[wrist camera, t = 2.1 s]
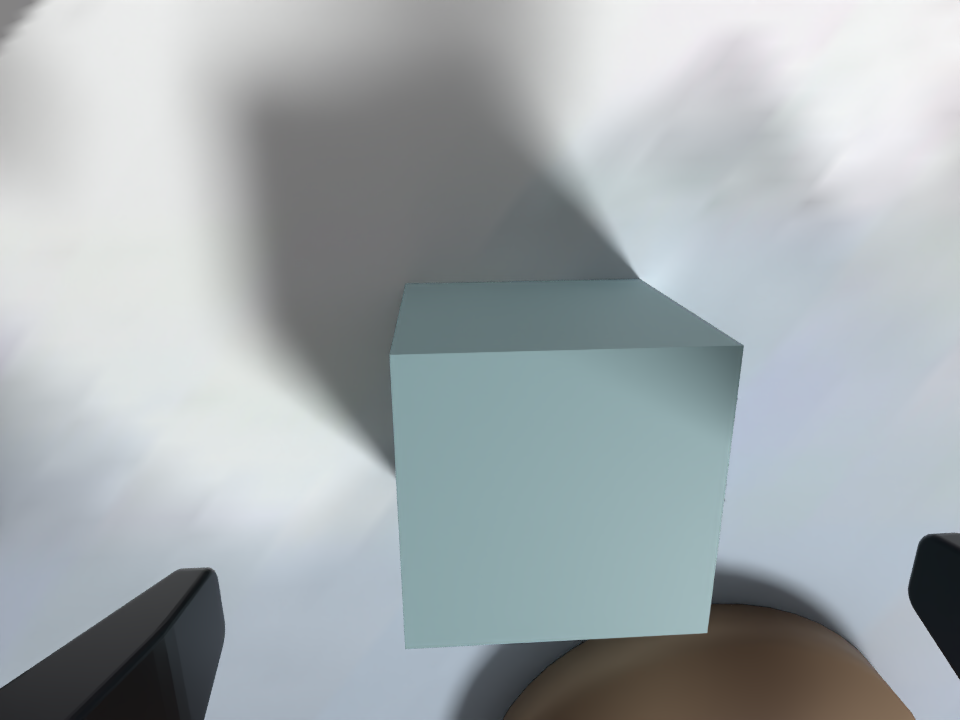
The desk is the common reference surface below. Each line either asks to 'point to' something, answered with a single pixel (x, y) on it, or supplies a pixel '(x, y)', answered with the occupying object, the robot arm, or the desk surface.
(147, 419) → the desk surface
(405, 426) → the teal block
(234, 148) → the desk surface
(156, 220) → the desk surface
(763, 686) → the walnut base
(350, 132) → the desk surface
